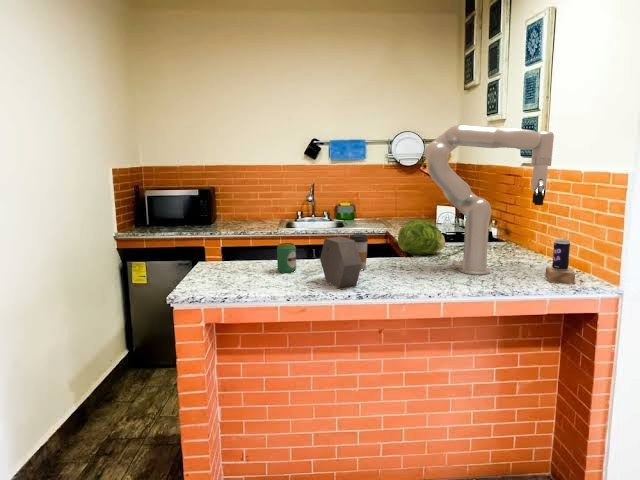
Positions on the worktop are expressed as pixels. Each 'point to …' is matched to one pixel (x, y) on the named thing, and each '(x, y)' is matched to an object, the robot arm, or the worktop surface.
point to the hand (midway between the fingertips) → (537, 204)
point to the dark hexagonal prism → (340, 261)
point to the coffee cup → (361, 247)
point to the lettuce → (420, 238)
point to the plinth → (560, 276)
